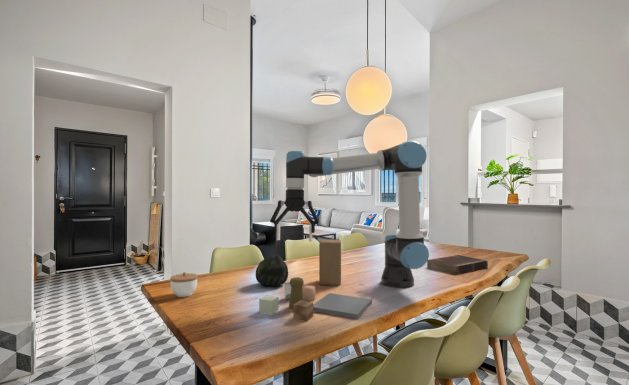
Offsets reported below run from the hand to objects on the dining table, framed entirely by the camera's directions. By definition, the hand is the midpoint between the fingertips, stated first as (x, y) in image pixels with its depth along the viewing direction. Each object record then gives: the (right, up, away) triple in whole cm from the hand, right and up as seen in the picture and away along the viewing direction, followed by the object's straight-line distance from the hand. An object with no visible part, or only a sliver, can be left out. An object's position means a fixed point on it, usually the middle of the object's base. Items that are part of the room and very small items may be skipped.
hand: (294, 240), depth 135 cm
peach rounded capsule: (+6, -23, -4) cm, 24 cm away
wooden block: (+16, -23, +21) cm, 36 cm away
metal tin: (-1, -23, -2) cm, 23 cm away
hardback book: (+90, -24, +53) cm, 107 cm away
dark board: (+19, -23, -12) cm, 32 cm away
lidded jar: (-46, -23, +3) cm, 52 cm away
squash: (-11, -23, +18) cm, 32 cm away
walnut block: (+5, -23, -23) cm, 33 cm away
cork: (+2, -23, -13) cm, 27 cm away
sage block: (-8, -23, -17) cm, 30 cm away
